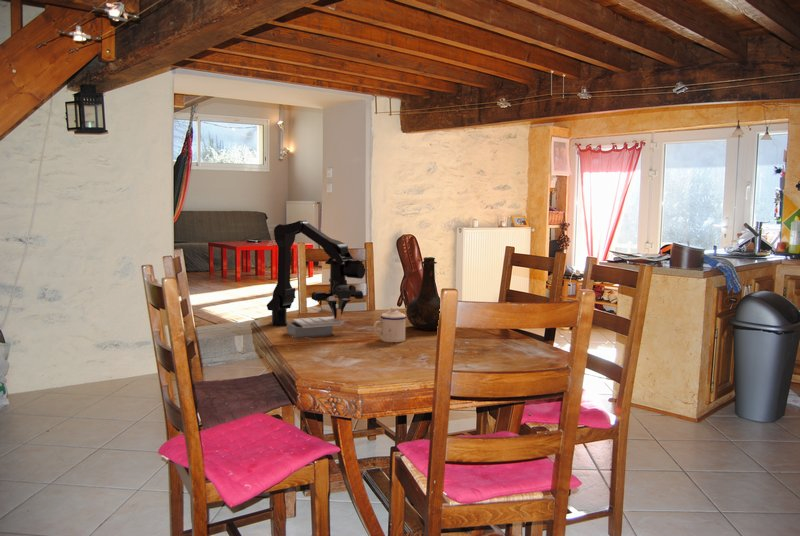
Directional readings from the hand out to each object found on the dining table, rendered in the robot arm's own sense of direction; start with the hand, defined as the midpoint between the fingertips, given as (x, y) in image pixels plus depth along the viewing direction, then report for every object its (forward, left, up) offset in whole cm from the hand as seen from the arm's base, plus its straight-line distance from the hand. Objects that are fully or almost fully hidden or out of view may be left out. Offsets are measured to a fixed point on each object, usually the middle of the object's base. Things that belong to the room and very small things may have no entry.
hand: (337, 317), depth 239 cm
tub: (0, -11, -5) cm, 12 cm away
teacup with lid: (+20, +12, -6) cm, 24 cm away
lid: (0, -7, -2) cm, 8 cm away
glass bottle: (+6, +36, -6) cm, 37 cm away
